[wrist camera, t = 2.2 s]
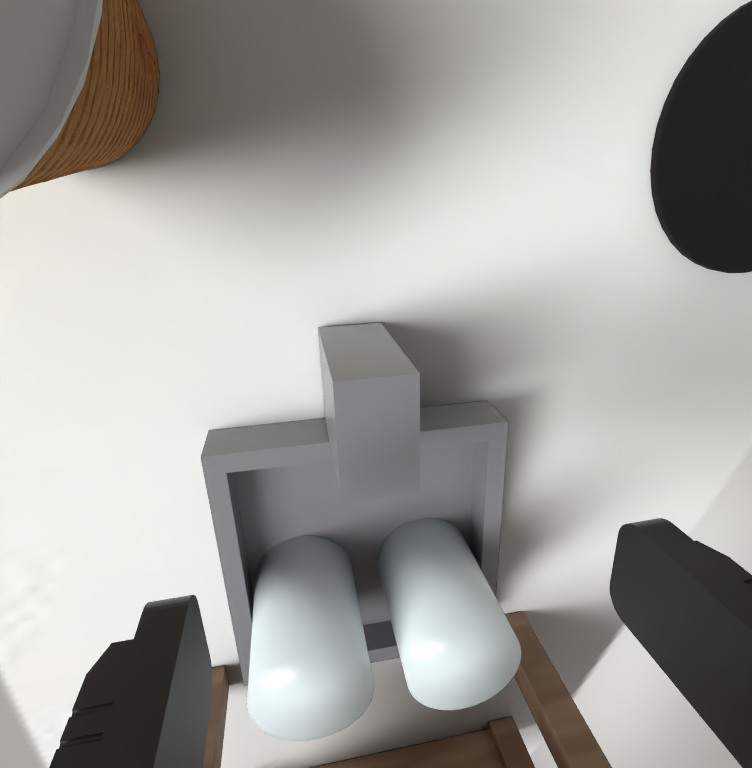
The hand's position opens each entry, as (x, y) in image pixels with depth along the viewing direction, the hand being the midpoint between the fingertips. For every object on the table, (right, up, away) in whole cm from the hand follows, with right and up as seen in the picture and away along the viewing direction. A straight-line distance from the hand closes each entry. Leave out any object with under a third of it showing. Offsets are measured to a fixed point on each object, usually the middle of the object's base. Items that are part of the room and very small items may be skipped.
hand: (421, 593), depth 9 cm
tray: (-2, -1, +14) cm, 14 cm away
